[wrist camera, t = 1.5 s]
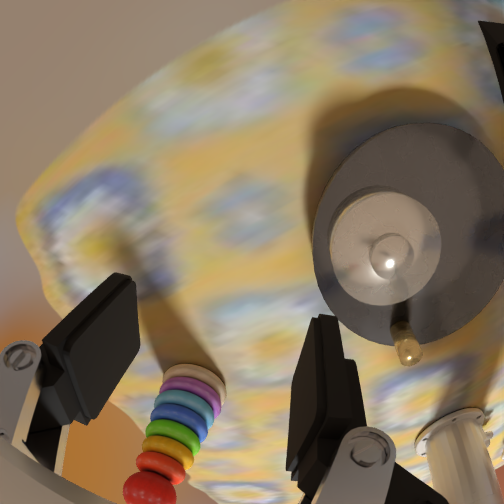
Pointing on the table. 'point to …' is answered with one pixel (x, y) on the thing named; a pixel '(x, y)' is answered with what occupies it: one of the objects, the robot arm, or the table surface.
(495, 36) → the black mechanical part
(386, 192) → the cover
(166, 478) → the stacking toy
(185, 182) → the table surface
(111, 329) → the robot arm
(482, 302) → the turntable
